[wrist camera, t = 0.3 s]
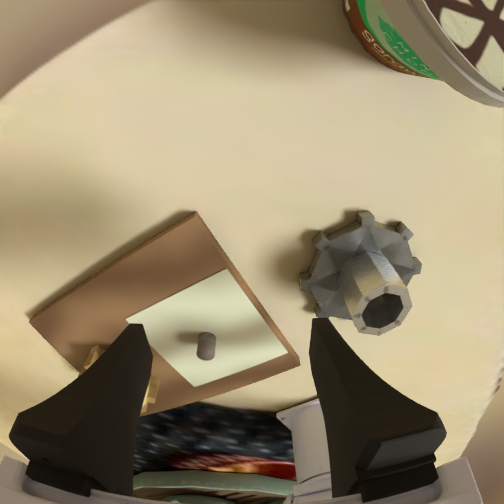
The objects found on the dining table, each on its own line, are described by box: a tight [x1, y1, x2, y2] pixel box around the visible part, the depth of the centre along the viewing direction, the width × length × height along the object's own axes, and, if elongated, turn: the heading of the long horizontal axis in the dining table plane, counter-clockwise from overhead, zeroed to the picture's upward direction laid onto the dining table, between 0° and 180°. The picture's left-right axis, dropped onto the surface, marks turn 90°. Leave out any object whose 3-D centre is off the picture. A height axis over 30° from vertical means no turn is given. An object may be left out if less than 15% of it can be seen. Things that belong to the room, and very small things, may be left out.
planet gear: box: [299, 211, 422, 336], centre depth 22 cm, size 9×9×5 cm
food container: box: [342, 0, 504, 108], centre depth 11 cm, size 12×6×10 cm, turn 72°
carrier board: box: [29, 211, 300, 416], centre depth 25 cm, size 16×20×4 cm
